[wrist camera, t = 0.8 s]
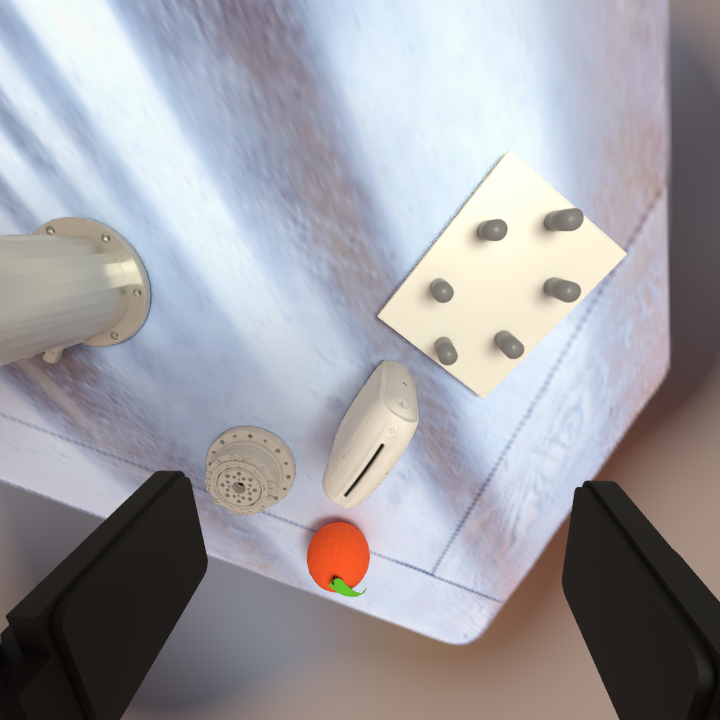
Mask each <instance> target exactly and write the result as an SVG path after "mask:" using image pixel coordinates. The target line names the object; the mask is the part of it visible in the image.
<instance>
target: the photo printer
mask: <svg viewBox="0 0 720 720" xmlns="http://www.w3.org/2000/svg"><path fill="white" fill-rule="evenodd" d="M418 421H419V416H418V408H417V400H416V391H415V381H414V378H413V377H412V376H410V373H409V371H408V369H407V368H406V367H405V366H404V365H403V364H401V363H399V362H396V361H386V360H384V361H383V362H382V363H381V364H380V365H379V366H378V367H377V368H376V369H375V371H374V372H373V373H372V375H371V376H370V377H369V379H368V380H367V382H366V383H365V385H364V386H363V388H362V389H361V391H360V392H359V394H358V395H357V397H356V398H355V400H354V401H353V403H352V405H351V406H350V408H349V409H348V411H347V413H346V414H345V416H344V418H343V420H342V421H341V423H340V426H339V428H338V431H337V434H336V437H335V440H334V444H333V447H332V450H331V453H330V457H329V460H328V463H327V466H326V470H325V473H324V476H323V481H322V485H323V490H324V492H325V494H326V496H327V497H328V498H329V499H330V501H331V502H334V503H337V504H339V505H340V506H341V507H342V508H344V509H350V508H354V507H355V506H357V505H359V504H360V503H361V502H363V501H364V500H365V499H366V498H368V497H369V496H370V495H371V494H372V493H373V492H374V491H375V489H376V488H377V487H378V486H379V485H380V484H381V482H382V481H383V480H384V479H385V477H386V476H387V475H388V473H389V472H390V471H391V469H392V468H393V467H394V465H395V464H396V463H397V461H398V460H399V458H400V457H401V455H402V454H403V452H404V451H405V449H406V447H407V446H408V444H409V442H410V440H411V438H412V436H413V434H414V432H415V429H416V427H417V424H418Z"/></svg>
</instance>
